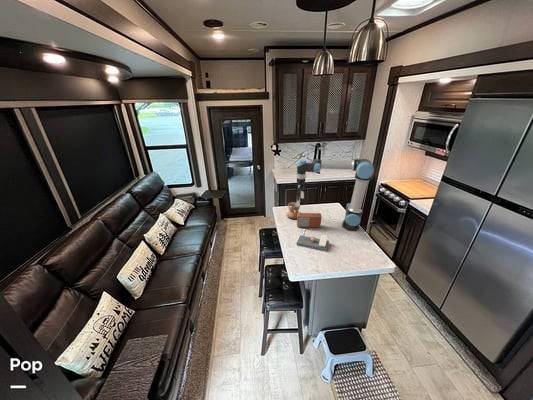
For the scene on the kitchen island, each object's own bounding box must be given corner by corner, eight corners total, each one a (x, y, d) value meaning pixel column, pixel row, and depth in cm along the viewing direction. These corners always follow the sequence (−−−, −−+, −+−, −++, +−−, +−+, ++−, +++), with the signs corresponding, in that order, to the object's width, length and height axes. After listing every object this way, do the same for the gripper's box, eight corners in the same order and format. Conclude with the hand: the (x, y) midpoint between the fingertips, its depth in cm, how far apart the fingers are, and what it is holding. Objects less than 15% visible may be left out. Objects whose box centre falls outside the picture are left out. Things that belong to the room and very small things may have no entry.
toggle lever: (304, 238, 179) (306, 229, 179) (304, 238, 177) (305, 229, 177) (302, 238, 180) (303, 228, 180) (301, 238, 178) (303, 228, 178)
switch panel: (328, 243, 178) (329, 239, 176) (326, 251, 168) (327, 247, 166) (300, 237, 186) (300, 233, 185) (296, 245, 176) (296, 240, 175)
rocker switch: (327, 236, 175) (327, 235, 175) (325, 247, 168) (325, 246, 167) (321, 235, 177) (321, 234, 176) (318, 245, 170) (318, 244, 169)
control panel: (319, 224, 206) (320, 211, 198) (320, 229, 200) (322, 216, 192) (296, 223, 208) (297, 211, 200) (297, 228, 202) (297, 215, 194)
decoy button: (315, 239, 176) (316, 237, 176) (315, 241, 173) (315, 239, 172) (311, 238, 178) (311, 236, 177) (310, 240, 174) (310, 238, 174)
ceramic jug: (285, 213, 230) (286, 201, 225) (299, 213, 230) (299, 201, 224) (287, 221, 214) (287, 208, 208) (301, 221, 213) (302, 208, 208)
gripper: (300, 174, 199) (299, 195, 207) (292, 181, 178) (292, 205, 186) (308, 174, 196) (307, 196, 204) (301, 182, 175) (300, 206, 183)
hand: (300, 200), depth 195 cm, fingers open, 13 cm apart
